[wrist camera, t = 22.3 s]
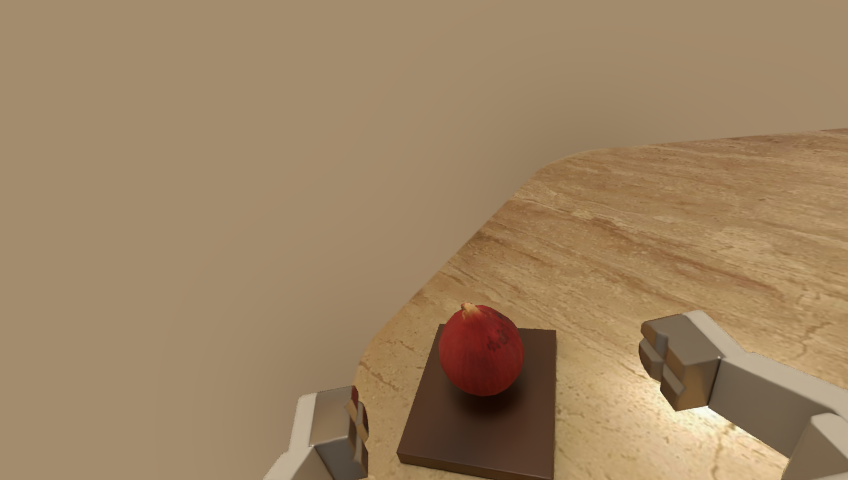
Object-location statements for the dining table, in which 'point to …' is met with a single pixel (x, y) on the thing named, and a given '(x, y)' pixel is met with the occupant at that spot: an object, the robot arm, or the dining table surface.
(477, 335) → the onion
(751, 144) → the dining table surface
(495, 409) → the board
